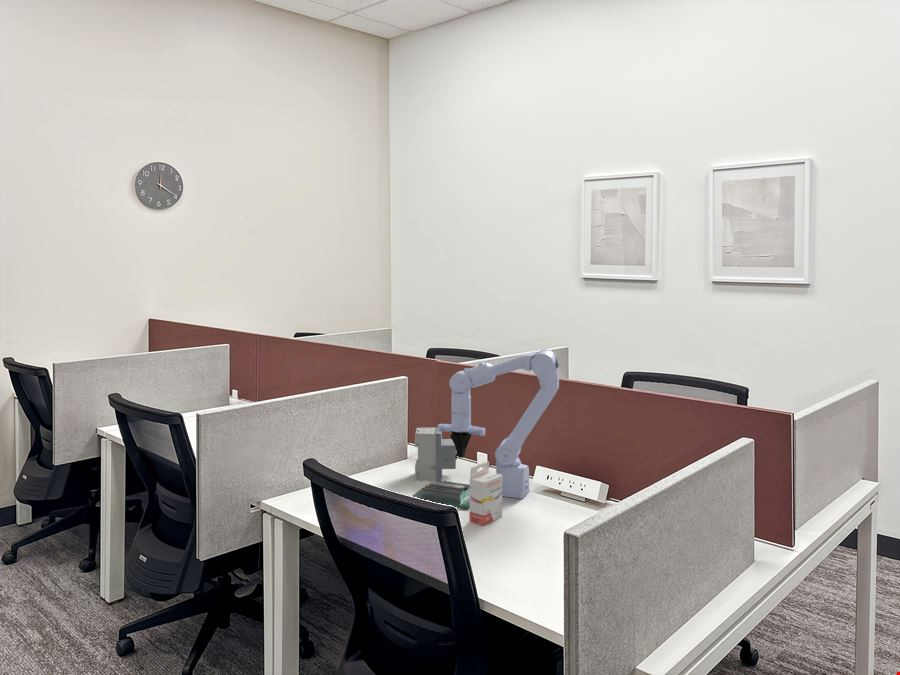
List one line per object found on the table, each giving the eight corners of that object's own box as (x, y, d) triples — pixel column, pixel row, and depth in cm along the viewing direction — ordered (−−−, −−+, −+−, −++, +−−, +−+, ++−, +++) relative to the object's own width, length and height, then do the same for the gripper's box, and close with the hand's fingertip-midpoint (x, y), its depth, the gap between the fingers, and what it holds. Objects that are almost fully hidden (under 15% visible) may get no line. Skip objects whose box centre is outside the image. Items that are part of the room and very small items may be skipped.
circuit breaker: (461, 480, 218) (460, 433, 216) (415, 480, 218) (414, 433, 216) (461, 473, 225) (460, 427, 223) (416, 473, 225) (416, 427, 223)
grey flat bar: (466, 488, 201) (466, 485, 201) (462, 491, 198) (462, 488, 198) (432, 482, 205) (432, 480, 205) (428, 485, 202) (428, 482, 202)
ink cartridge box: (484, 526, 181) (484, 471, 179) (468, 522, 184) (468, 467, 182) (503, 516, 188) (503, 463, 186) (488, 512, 191) (488, 460, 189)
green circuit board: (483, 494, 205) (483, 481, 204) (467, 510, 193) (467, 496, 192) (427, 487, 211) (427, 474, 211) (408, 501, 200) (408, 487, 199)
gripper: (433, 412, 206) (433, 457, 208) (479, 417, 201) (479, 463, 202) (442, 407, 213) (442, 451, 214) (487, 411, 207) (487, 456, 209)
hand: (461, 456), depth 209 cm, fingers closed
